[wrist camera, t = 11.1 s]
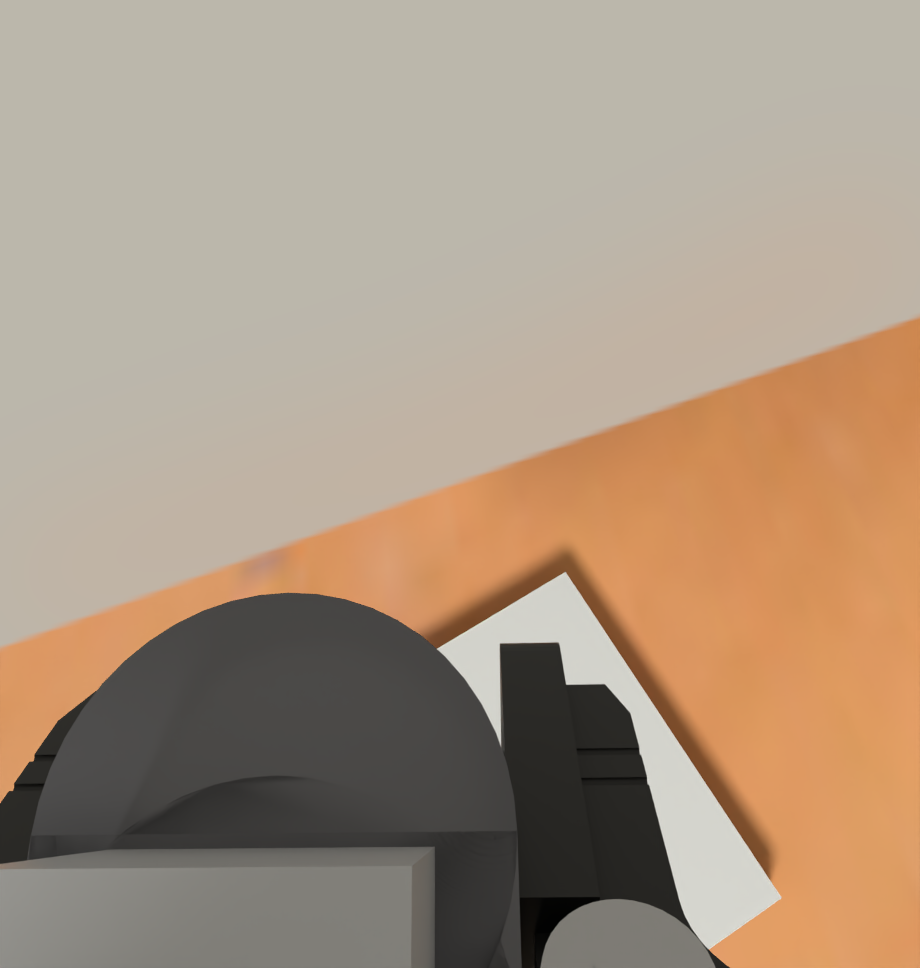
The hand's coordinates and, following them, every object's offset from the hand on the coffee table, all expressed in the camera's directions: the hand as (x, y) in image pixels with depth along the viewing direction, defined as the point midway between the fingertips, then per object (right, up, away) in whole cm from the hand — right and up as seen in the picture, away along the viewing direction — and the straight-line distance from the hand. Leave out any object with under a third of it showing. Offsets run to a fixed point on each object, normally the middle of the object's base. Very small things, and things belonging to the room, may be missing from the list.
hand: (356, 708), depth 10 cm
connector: (0, -3, +3) cm, 4 cm away
